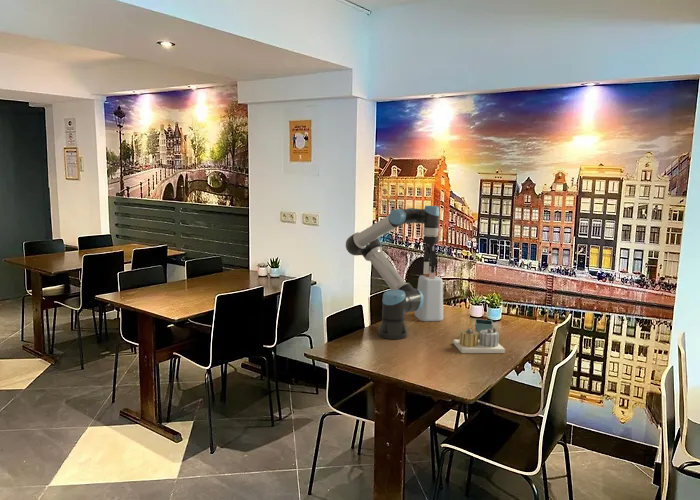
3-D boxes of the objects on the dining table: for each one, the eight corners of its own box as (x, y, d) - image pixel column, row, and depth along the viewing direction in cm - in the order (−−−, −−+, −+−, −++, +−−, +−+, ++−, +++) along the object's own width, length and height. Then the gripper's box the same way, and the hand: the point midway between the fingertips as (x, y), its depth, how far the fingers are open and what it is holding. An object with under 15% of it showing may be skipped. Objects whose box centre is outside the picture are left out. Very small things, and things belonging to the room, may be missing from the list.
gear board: (461, 353, 249) (463, 332, 248) (453, 343, 264) (454, 324, 263) (504, 353, 251) (506, 332, 249) (494, 343, 265) (495, 324, 264)
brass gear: (462, 346, 252) (462, 334, 251) (457, 341, 261) (457, 329, 260) (480, 347, 253) (481, 335, 252) (474, 341, 261) (475, 329, 261)
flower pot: (492, 341, 268) (493, 324, 267) (474, 340, 270) (475, 323, 269) (491, 336, 277) (492, 320, 276) (473, 335, 279) (474, 318, 278)
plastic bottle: (412, 315, 317) (414, 270, 313) (436, 314, 319) (438, 269, 316) (420, 322, 302) (422, 274, 298) (445, 321, 305) (447, 274, 301)
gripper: (444, 238, 257) (441, 281, 260) (432, 233, 282) (430, 272, 285) (428, 238, 257) (427, 280, 260) (418, 233, 281) (417, 272, 284)
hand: (428, 276), depth 272 cm, fingers open, 13 cm apart
